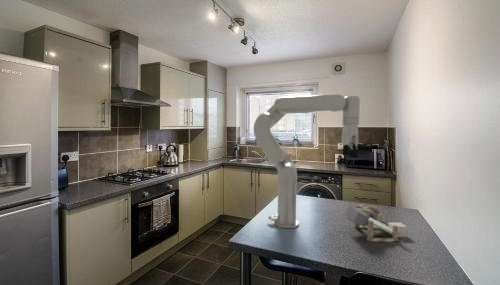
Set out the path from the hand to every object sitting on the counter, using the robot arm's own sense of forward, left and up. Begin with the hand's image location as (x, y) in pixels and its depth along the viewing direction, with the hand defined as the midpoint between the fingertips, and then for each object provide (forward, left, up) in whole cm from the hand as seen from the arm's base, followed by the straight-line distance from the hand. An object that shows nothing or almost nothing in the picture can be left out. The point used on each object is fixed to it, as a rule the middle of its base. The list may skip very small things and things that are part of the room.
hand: (349, 156), depth 124 cm
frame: (+11, -7, -36) cm, 38 cm away
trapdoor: (+7, -7, -33) cm, 34 cm away
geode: (+15, +15, -37) cm, 42 cm away
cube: (+18, -7, -34) cm, 39 cm away
